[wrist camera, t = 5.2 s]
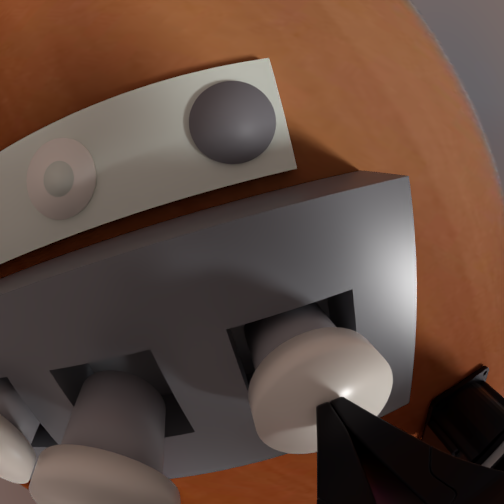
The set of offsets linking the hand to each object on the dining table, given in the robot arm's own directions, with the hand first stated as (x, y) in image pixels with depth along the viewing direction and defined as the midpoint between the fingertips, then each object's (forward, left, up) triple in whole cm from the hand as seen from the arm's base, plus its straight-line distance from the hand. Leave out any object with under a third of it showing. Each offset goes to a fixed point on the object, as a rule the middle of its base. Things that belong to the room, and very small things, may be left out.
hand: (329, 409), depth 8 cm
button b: (+7, 0, -3) cm, 8 cm away
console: (+7, 0, -6) cm, 9 cm away
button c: (+14, 0, -5) cm, 15 cm away
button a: (0, 0, -5) cm, 5 cm away
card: (+7, -9, -6) cm, 13 cm away
